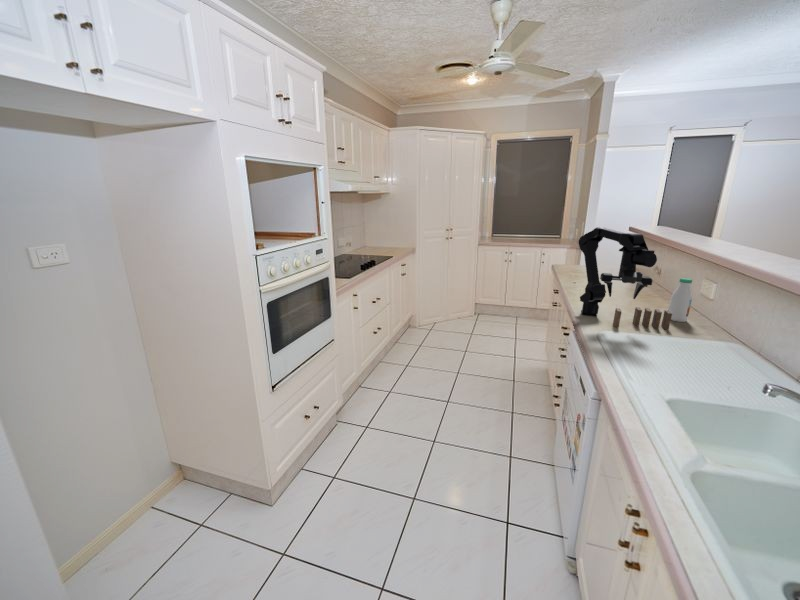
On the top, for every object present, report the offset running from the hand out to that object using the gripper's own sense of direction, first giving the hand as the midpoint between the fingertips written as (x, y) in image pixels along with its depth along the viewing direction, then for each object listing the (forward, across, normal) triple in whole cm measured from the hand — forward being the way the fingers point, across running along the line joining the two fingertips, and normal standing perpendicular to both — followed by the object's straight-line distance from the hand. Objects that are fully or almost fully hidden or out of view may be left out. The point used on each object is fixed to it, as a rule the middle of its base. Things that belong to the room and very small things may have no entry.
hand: (621, 297), depth 156 cm
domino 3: (+13, +12, +5) cm, 19 cm away
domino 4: (+13, +16, +5) cm, 21 cm away
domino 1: (+13, 0, 0) cm, 13 cm away
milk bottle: (+13, +28, +21) cm, 38 cm away
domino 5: (+13, +20, +5) cm, 24 cm away
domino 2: (+13, +8, +5) cm, 16 cm away
